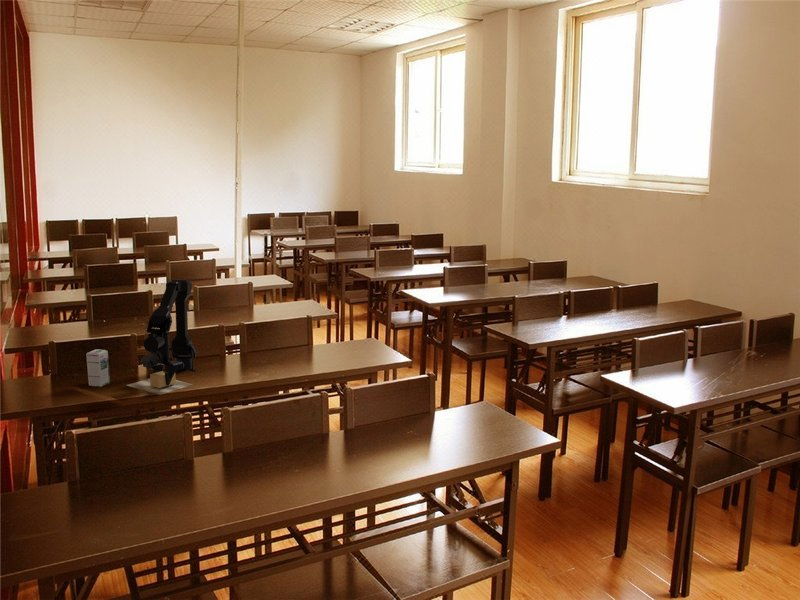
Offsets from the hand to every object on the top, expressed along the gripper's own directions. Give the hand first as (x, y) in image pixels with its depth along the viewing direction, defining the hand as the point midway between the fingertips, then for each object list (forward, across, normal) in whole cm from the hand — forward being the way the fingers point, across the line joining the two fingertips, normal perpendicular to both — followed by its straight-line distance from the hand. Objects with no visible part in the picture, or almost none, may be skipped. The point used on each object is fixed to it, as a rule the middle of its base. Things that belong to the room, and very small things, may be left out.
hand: (163, 383), depth 280 cm
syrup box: (+2, -22, -13) cm, 26 cm away
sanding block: (+1, 0, 0) cm, 1 cm away
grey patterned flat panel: (+2, -2, 0) cm, 3 cm away
